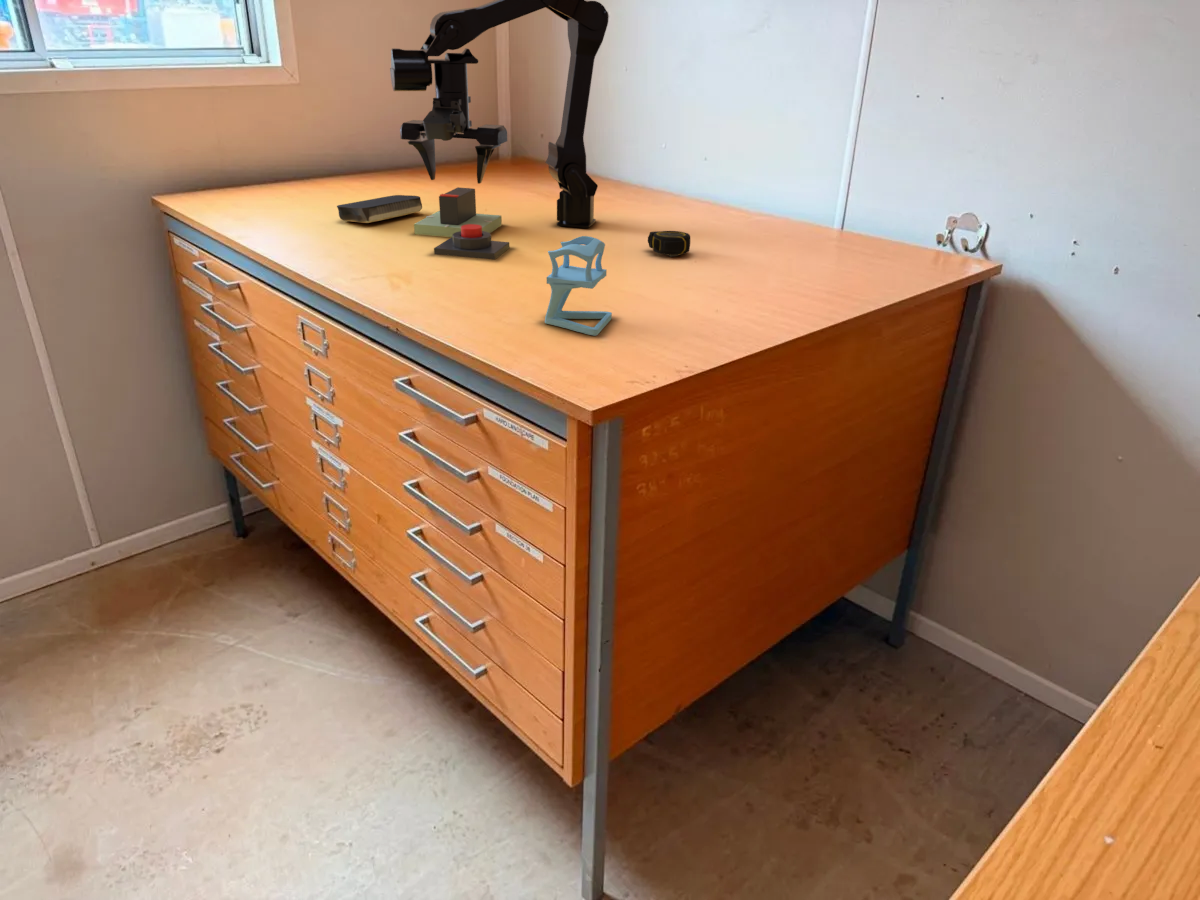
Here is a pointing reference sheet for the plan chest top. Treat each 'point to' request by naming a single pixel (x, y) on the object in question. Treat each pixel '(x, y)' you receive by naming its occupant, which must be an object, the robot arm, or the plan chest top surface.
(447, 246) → the button box
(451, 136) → the robot arm
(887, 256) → the plan chest top surface
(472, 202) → the block
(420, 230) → the pale green square pad
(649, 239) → the tape measure
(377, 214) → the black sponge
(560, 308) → the chair
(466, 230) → the button
